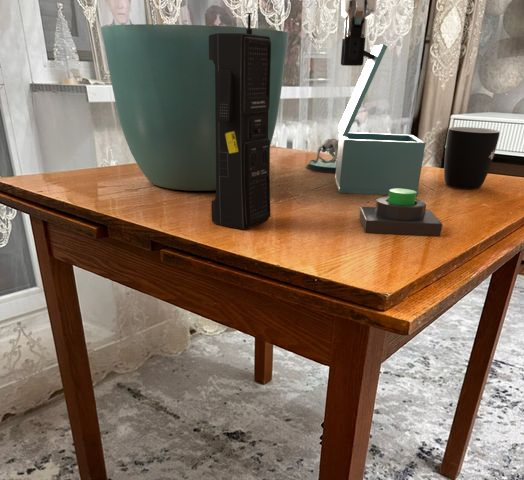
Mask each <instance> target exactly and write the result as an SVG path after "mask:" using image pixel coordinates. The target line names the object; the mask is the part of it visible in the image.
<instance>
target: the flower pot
mask: <svg viewBox="0 0 524 480" xmlns="http://www.w3.org/2000/svg"><path fill="white" fill-rule="evenodd" d="M246 29H248V27H245V26H228V25H211V24H208V25H207V24H205V25H204V24H169V23H168V24H161V23H160V24H159V23H158V24H157V23H155V24H154V23H153V24H152V23H149V24H148V23H147V24H146V23H145V24H143V23H142V24H141V23H140V24H138V23H137V24H111V25H103V26H101V27H100V32H101V36H102V41H103V45H104V46H103V47H104V51H105V56H106V61H107V66H108V71H109V72H108V73H109V76H110V83H111V89H112V92H113V97H114V103H115V107H116V111H117V115H118V119H119V123H120V126H121V129H122V132H123V136H124V138H125V141H126V144H127V147H128V149H129V151H130V154H131V155H132V157H133V159H134V160H135V162H136V164H137V166H138V168H139V169H140V171H141V172H142V174H143V176H144V177H146V179H147V180H148V181H149V182H150V183H151V185H154V186H157V187H160V188H164V189H170V190H178V191H191V192H192V191H193V192H200V191H201V192H205V191H206V192H207V191H209V192H210V191H211V192H212V191H213V192H214V191H216V116H215V64H214V62H213V60H210V59H209V35H212V34H217V33H245V34H246ZM251 29H252V34H254V35H262V36H268V37H270V41H271V69H270V105H269V111H268V139H269V140H270V146H271V145H272V141H273V139H274V138H273V137H274V133H275V130H276V125H277V120H278V115H279V111H280V110H279V109H280V103H281V95H282V88H283V81H284V75H285V74H284V72H285V64H286V58H287V51H288V50H287V49H288V44H289V36H290V35H289V34H290V33H289V32H288V31H284V30H279V29H278V30H277V29H270V28H259V27H251Z"/></svg>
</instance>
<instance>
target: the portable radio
mask: <svg viewBox="0 0 524 480" xmlns="http://www.w3.org/2000/svg"><path fill="white" fill-rule="evenodd" d="M246 15H247V28H248V29H246V34H245V33H217V34H212V35H209V59H210V60H213V62H214V64H215V116H216V190H215V197H214V199H212V200H210V203H211V205H210V206H211V207H210V208H211V209H210V210H211V211H210V213H211V222H212V223H214V224H216V225H219V226H223V227H228V228H234V229H238V230H243V231H244V230H248V229H250V228H252V227H255V226H257V225H259V224H261V223H264V222H267V221H268V220H269V218H271V215H272V214H271V178H270V177H271V174H270V173H271V145H270V140H269V139H268V111H269V105H270V69H271V41H270V37H268V36H262V35H254V34H252V29H251V28H252V27H251V26H252V25H251V21H252V15H253V12H252V13H251V12H246Z"/></svg>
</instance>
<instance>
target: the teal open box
mask: <svg viewBox="0 0 524 480" xmlns="http://www.w3.org/2000/svg"><path fill="white" fill-rule="evenodd" d="M338 132H339V133H338V140H339V141H338V152H337V159H336V160H337V163H336V173H334V183H335V185H336V188H337V191H338V193H339V194H353V195H354V194H357V195H360V194H361V195H376V196H378V195H380V196H389V191H390V189H396V188H400V189H410V190H414V191H416V192H417V193H416V197H417V196H418V193H419V186H420V181H421V180H420V179H421V175H422V167H423V160H424V157H425V156H424V155H425V148H426V142H425V141H423V140H422V139H420V138H419V137H417V136H415V135H413V134H399V133H398V134H397V133H375V132H352V131H351V132H350V131H349V133H348V135H347V137H344V136H342V134H341V133H340V131H338Z"/></svg>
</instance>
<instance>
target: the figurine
mask: <svg viewBox="0 0 524 480" xmlns="http://www.w3.org/2000/svg"><path fill="white" fill-rule="evenodd" d="M338 141H339V139H336V138H327V139H325V140H324V142H323V143H322V144H321V145H320V146H319V147H318V149H317V154H316V158H315V159H310V160H309V161H308V163H307V164H306V166H305V169H306V170H308V171H312V172H316V173H317V172H318V173H324V174H325V173H326V174H335V173H336V163H337V152H338ZM321 153H328V154H329V155H330V156H331V157H332V158H331V159H324V158H322V157H321V156H320V154H321Z"/></svg>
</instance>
